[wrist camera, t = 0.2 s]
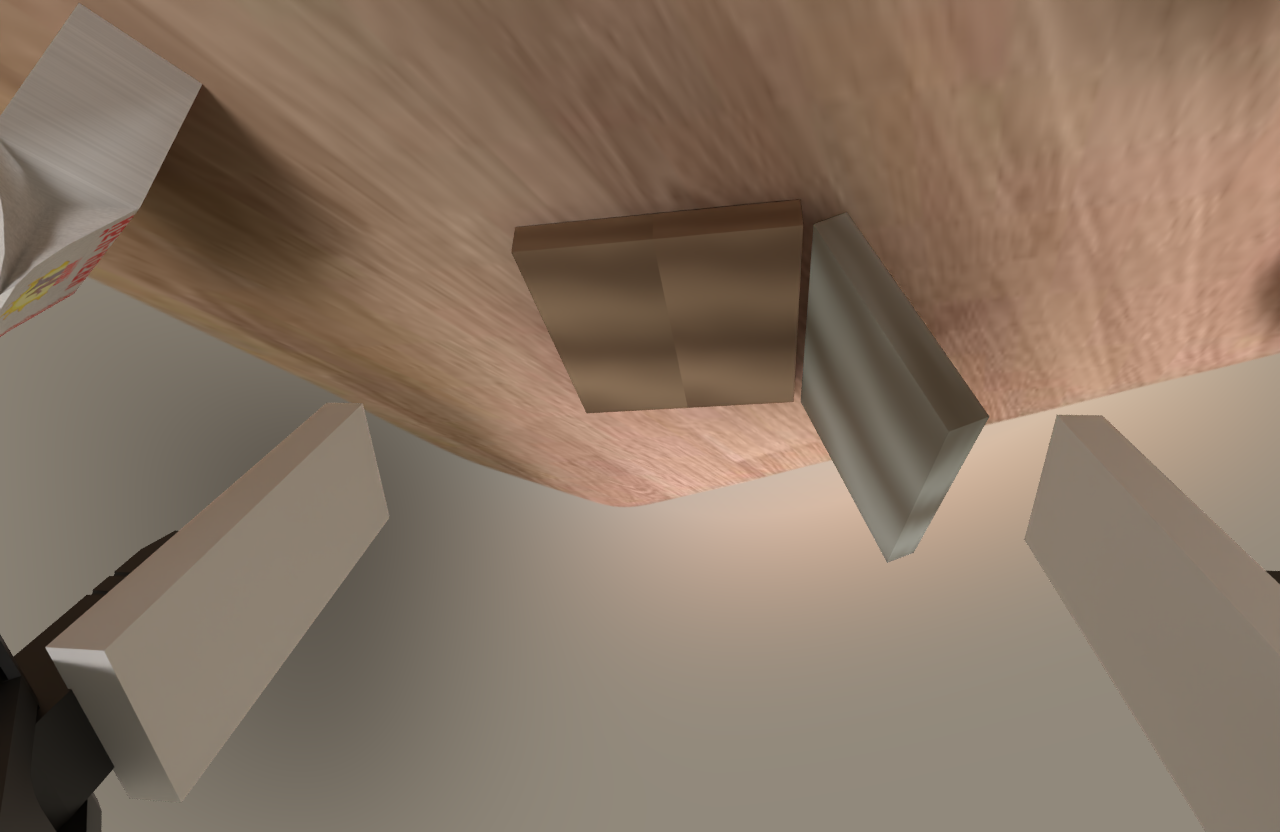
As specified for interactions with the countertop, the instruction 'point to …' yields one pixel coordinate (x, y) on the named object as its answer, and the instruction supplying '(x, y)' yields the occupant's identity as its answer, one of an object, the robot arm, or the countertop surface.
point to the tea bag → (80, 157)
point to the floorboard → (671, 304)
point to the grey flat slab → (881, 390)
